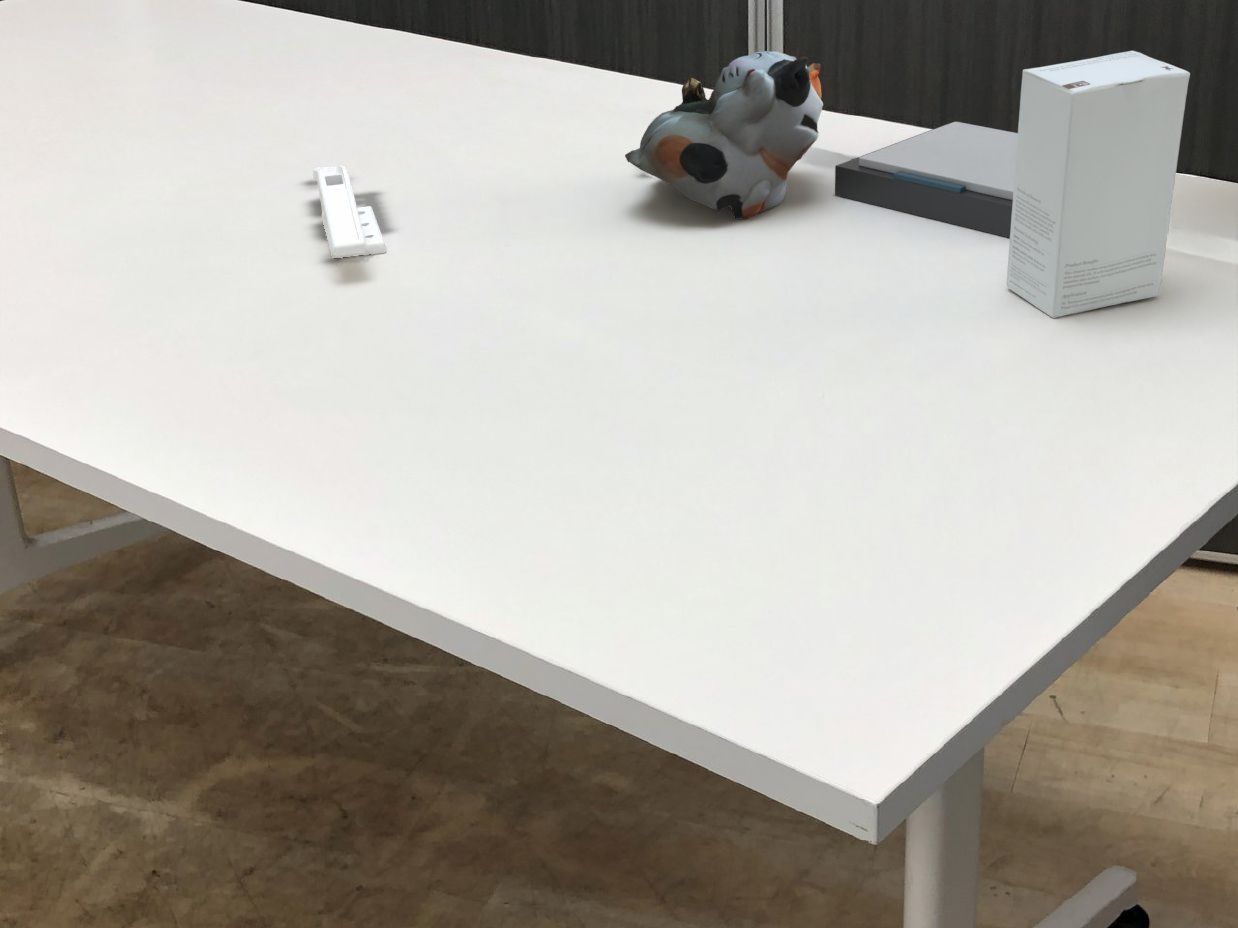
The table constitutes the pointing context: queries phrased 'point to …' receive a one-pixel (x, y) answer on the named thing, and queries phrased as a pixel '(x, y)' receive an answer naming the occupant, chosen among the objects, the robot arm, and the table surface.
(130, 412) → the table surface
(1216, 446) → the table surface
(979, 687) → the table surface
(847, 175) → the scale
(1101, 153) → the cosmetic box
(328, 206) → the white intercom handset
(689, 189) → the lucky cat figurine
